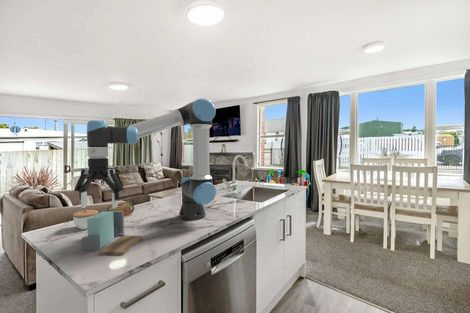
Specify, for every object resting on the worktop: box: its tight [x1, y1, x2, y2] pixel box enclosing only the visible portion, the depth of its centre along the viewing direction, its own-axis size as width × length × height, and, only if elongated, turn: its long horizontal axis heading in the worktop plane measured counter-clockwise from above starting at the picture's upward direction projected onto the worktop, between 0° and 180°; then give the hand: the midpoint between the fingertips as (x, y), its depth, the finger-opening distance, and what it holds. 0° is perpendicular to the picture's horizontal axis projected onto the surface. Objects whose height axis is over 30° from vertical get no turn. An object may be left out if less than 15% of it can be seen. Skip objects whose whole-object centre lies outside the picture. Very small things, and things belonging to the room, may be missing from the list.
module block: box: [87, 211, 115, 248], centre depth 102 cm, size 5×10×12 cm, turn 176°
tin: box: [106, 201, 135, 218], centre depth 139 cm, size 15×3×8 cm, turn 139°
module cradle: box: [81, 210, 126, 252], centre depth 103 cm, size 10×17×11 cm, turn 176°
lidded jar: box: [72, 208, 99, 231], centre depth 121 cm, size 11×11×9 cm
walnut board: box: [99, 234, 143, 256], centre depth 99 cm, size 9×16×1 cm, turn 176°
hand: (99, 207), depth 101 cm, fingers open, 13 cm apart
